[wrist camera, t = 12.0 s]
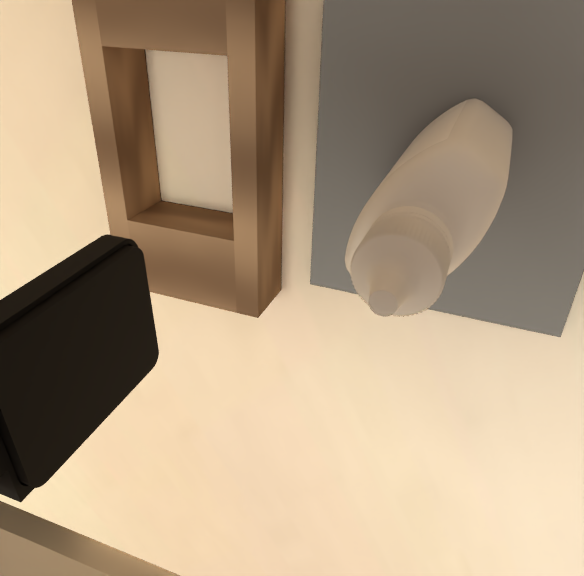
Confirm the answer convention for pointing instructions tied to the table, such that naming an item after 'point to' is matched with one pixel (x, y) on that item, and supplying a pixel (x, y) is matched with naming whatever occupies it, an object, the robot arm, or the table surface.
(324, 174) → the rubber pad
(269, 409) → the table surface
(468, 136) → the eye dropper bottle
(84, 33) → the frame
